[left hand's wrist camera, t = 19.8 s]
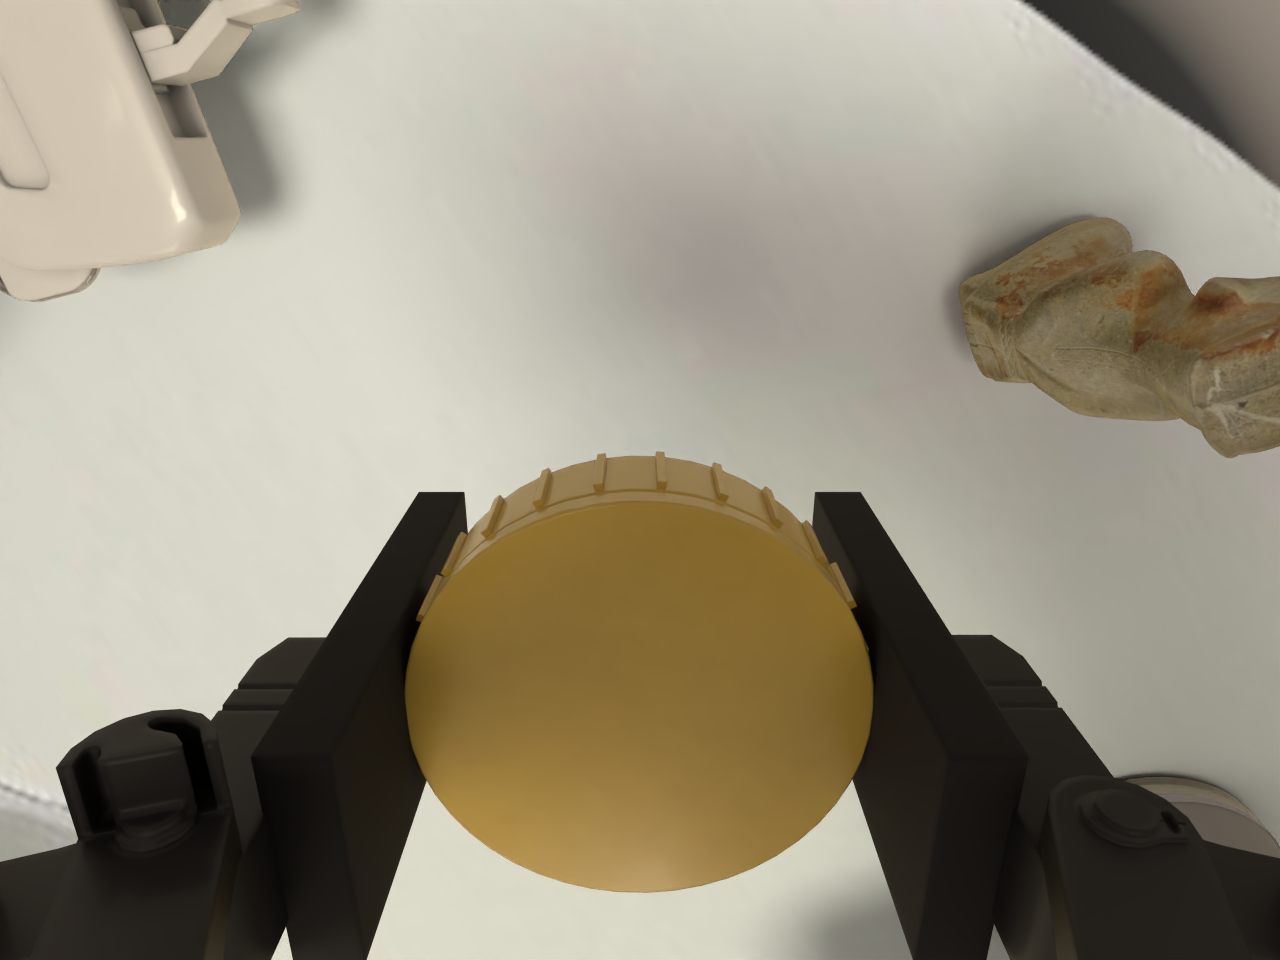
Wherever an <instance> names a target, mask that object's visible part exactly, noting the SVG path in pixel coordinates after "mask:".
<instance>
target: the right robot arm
mask: <svg viewBox="0 0 1280 960" xmlns="http://www.w3.org/2000/svg"><path fill="white" fill-rule="evenodd" d="M299 9H300V8H299V6H298V3H297V0H212V1H211V2H210V4H209V5H208V6H207V7H206V9H205V10H204V11H203V12H202V13H201V15H200V16H199V17H198V18H197V20H196V21H195V22H194V23H193V25H192V26H191V27H190V28H189V29H185V28H181V27H176V26H172V25H167V24H166V21H165V19H164V16H163V14H162V11H161V9H160V6H159V4H158V1H157V0H0V290H1V291H2V292H4V293H6V294H8V295H10V296H12V297H14V298H16V299H18V300H24V301H31V302H41V301H46V300H50V299H54V298H58V297H62V296H66V295H70V294H74V293H78V292H80V291H82V290H84V289H86V288H87V287H88V286H90V285H91V284H92V283H93V282H94V280H95V279H96V277H97V276H98V274H99V272H100V269H101V268H104V267H112V266H121V265H129V264H135V263H141V262H147V261H152V260H158V259H163V258H169V257H173V256H177V255H182V254H186V253H191V252H195V251H199V250H203V249H207V248H211V247H214V246H217V245H220V244H223V243H224V242H226V241H227V240H228V238H229V236H230V234H231V233H232V231H233V229H234V228H235V226H236V224H237V222H238V220H239V218H240V214H241V212H240V208H239V204H238V201H237V199H236V196H235V194H234V191H233V189H232V186H231V184H230V181H229V179H228V176H227V174H226V171H225V169H224V166H223V164H222V161H221V159H220V156H219V154H218V151H217V149H216V146H215V144H214V141H213V139H212V136H211V134H210V131H209V129H208V126H207V124H206V121H205V119H204V116H203V114H202V111H201V109H200V106H199V104H198V101H197V99H196V96H195V94H194V91H193V89H192V86H191V83H195V82H198V81H202V80H205V79H209V78H213V77H216V76H219V75H220V73H221V72H222V71H223V69H224V68H225V67H226V65H227V64H228V63H229V61H230V60H231V59H232V57H233V56H234V55H235V53H236V52H237V51H238V49H239V48H240V46H241V45H242V44H243V42H244V41H245V40H246V38H247V37H248V36H249V34H250V33H251V32H252V30H253V29H252V26H251V25H255V24H259V23H262V22H266V21H269V20H273V19H276V18H280V17H284V16H287V15H291V14H293V13H295V12H297V11H299Z"/></svg>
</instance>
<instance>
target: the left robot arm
mask: <svg viewBox="0 0 1280 960" xmlns="http://www.w3.org/2000/svg"><path fill="white" fill-rule="evenodd" d="M812 528H813V530H814V532H815V535H816V537H817V539H818V541H819V543H820V546H821V548H822V550H823V552H824V553H825V555H826V557H827V559H828V561H829V563H830V564H832V563H834V562H836V563H837V565H838V567H839V569H840V571H841V573H842V575H843V578H844V580H845V582H846V584H847V586H848V588H849V590H850V592H851V594H852V597H853V599H854V601H855V603H856V605H857V606H856V607H854V608H852V609H851V610H852V612H853V615H854V617H855V619H856V621H857V623H858V625H859V628H860V630H861V632H862V635H863V637H864V639H865V642H866V644H867V646H868V648H869V657H870V662H871V668H872V675H873V681H874V703H873V713H872V721H871V728H870V735H869V739H868V742H867V745H866V748H865V751H864V754H863V757H862V760H861V762H860V764H859V766H858V768H857V770H856V772H855V774H854V776H853V778H852V779H853V782H854V785H855V788H856V791H857V794H858V797H859V800H860V803H861V806H862V809H863V812H864V815H865V818H866V821H867V824H868V827H869V830H870V833H871V836H872V839H873V842H874V845H875V848H876V851H877V854H878V857H879V860H880V863H881V866H882V869H883V872H884V875H885V878H886V881H887V884H888V887H889V890H890V893H891V896H892V899H893V902H894V905H895V908H896V911H897V914H898V917H899V920H900V923H901V926H902V929H903V932H904V935H905V938H906V941H907V944H908V947H909V950H910V953H911V955H912V958H913V960H986V959H987V954H988V950H989V945H990V940H991V935H992V930H993V926H994V924H995V927H996V929H997V931H998V933H999V935H1000V938H1001V940H1002V942H1003V944H1004V946H1005V949H1006V951H1007V953H1008V955H1009V957H1010V960H1280V846H1279V845H1278V843H1277V841H1276V840H1275V839H1274V838H1273V836H1272V835H1271V834H1270V833H1269V832H1268V830H1267V829H1266V828H1265V827H1264V826H1263V825H1262V824H1261V823H1260V822H1259V821H1258V819H1257V818H1256V817H1255V816H1254V815H1253V814H1252V813H1251V812H1250V811H1249V810H1248V808H1246V807H1245V806H1244V805H1243V804H1242V803H1241V802H1240V801H1239V800H1237V799H1236V798H1235V797H1233V796H1232V795H1230V794H1228V793H1227V792H1225V791H1223V790H1221V789H1219V788H1216V787H1214V786H1212V785H1209V784H1206V783H1202V782H1199V781H1194V780H1190V779H1184V778H1175V777H1144V778H1135V779H1128V780H1119V779H1116V778H1114V777H1113V776H1112V774H1111V773H1110V772H1109V770H1108V769H1107V768H1106V766H1105V765H1104V764H1103V762H1102V761H1101V760H1100V758H1099V757H1098V756H1097V754H1096V753H1095V752H1094V750H1093V749H1092V748H1091V746H1090V745H1089V744H1088V742H1087V741H1086V740H1085V738H1084V737H1083V736H1082V734H1081V733H1080V732H1079V730H1078V729H1077V728H1076V726H1075V725H1074V724H1073V722H1072V721H1071V720H1070V718H1069V717H1068V716H1067V714H1066V713H1065V712H1064V710H1063V709H1062V708H1058V706H1057V701H1056V700H1055V698H1054V697H1053V696H1052V694H1051V693H1050V692H1049V690H1048V689H1047V688H1046V686H1042V681H1041V680H1040V678H1039V677H1038V676H1037V674H1036V673H1035V672H1034V670H1033V669H1032V668H1031V666H1030V665H1029V664H1028V662H1027V661H1026V660H1025V658H1024V657H1023V656H1022V655H1020V654H1019V653H1017V652H1016V651H1014V650H1013V649H1011V648H1010V647H1008V646H1007V645H1006V644H1004V643H1003V642H1001V641H1000V640H998V639H997V638H995V637H994V636H992V635H951V634H950V632H949V630H948V629H947V627H946V626H945V624H944V623H943V621H942V619H941V618H940V616H939V615H938V613H937V612H936V610H935V608H934V607H933V605H932V604H931V602H930V601H929V599H928V597H927V596H926V594H925V593H924V591H923V590H922V588H921V586H920V585H919V583H918V582H917V580H916V579H915V577H914V575H913V574H912V572H911V571H910V569H909V568H908V566H907V564H906V563H905V561H904V560H903V558H902V557H901V555H900V553H899V552H898V550H897V549H896V547H895V546H894V544H893V542H892V541H891V539H890V538H889V536H888V535H887V533H886V531H885V530H884V528H883V527H882V525H881V524H880V522H879V520H878V519H877V517H876V516H875V514H874V513H873V511H872V509H871V508H870V506H869V505H868V503H867V501H866V500H865V498H864V497H863V495H862V494H861V492H815V499H814V512H813V524H812ZM461 532H463V533H465V534H466V535H467V534H468V530H467V518H466V506H465V494H464V492H419V493H418V494H417V496H416V497H415V499H414V501H413V502H412V504H411V505H410V507H409V508H408V510H407V512H406V513H405V515H404V516H403V518H402V519H401V521H400V523H399V524H398V526H397V527H396V529H395V530H394V532H393V534H392V535H391V537H390V538H389V540H388V541H387V543H386V545H385V546H384V548H383V549H382V551H381V552H380V554H379V556H378V557H377V559H376V560H375V562H374V563H373V565H372V567H371V568H370V570H369V571H368V573H367V574H366V576H365V578H364V579H363V581H362V582H361V584H360V585H359V587H358V589H357V590H356V592H355V593H354V595H353V596H352V598H351V600H350V601H349V603H348V604H347V606H346V607H345V609H344V611H343V612H342V614H341V615H340V617H339V618H338V620H337V622H336V623H335V625H334V626H333V628H332V629H331V631H330V633H329V634H328V636H327V637H326V638H287V639H286V640H284V641H283V642H281V643H280V644H278V645H277V646H275V647H274V648H272V649H271V650H270V651H268V652H267V653H265V654H264V655H262V656H261V657H259V658H258V659H257V660H256V661H255V662H254V664H253V665H252V667H251V668H250V669H249V671H248V672H247V673H246V675H245V676H244V677H243V679H242V680H241V681H240V683H239V684H238V689H234V691H233V692H232V693H231V695H230V696H229V697H228V699H227V700H226V701H225V703H224V704H223V709H222V711H218V712H217V713H216V715H215V716H214V718H213V719H212V720H211V721H210V720H209V719H208V718H207V717H205V716H204V715H203V714H201V713H196V712H192V711H187V710H183V709H174V710H158V711H151V712H147V713H143V714H139V715H135V716H132V717H128V718H124V719H122V720H119V721H117V722H115V723H113V724H111V725H108V726H106V727H104V728H102V729H100V730H97V731H95V732H94V733H92V734H91V735H89V736H88V737H87V738H85V739H84V740H83V741H81V742H80V743H78V744H77V745H76V746H74V747H73V748H71V749H70V751H69V752H68V753H67V754H66V756H65V757H64V758H63V759H62V761H61V762H60V763H59V764H58V766H57V767H56V770H57V773H58V776H59V779H60V783H61V786H62V789H63V792H64V795H65V798H66V802H67V805H68V808H69V811H70V814H71V817H72V820H73V824H74V827H75V830H76V833H77V836H78V841H77V843H76V844H72V845H69V846H66V847H62V848H59V849H55V850H50V851H46V852H42V853H37V854H33V855H29V856H24V857H20V858H15V859H11V860H7V861H2V862H0V960H271V958H272V956H273V954H274V952H275V950H276V947H277V945H278V943H279V941H280V938H281V936H282V934H283V932H284V930H285V927H286V928H287V933H288V938H289V943H290V947H291V952H292V957H293V960H367V957H368V954H369V951H370V948H371V945H372V942H373V939H374V936H375V933H376V930H377V927H378V924H379V921H380V918H381V915H382V912H383V909H384V906H385V903H386V900H387V897H388V894H389V891H390V888H391V885H392V882H393V879H394V876H395V873H396V870H397V867H398V864H399V861H400V858H401V855H402V852H403V849H404V846H405V843H406V841H407V838H408V835H409V832H410V829H411V826H412V823H413V820H414V817H415V814H416V811H417V808H418V805H419V802H420V799H421V796H422V793H423V790H424V787H425V784H426V781H427V780H426V778H425V776H424V775H423V773H422V771H421V769H420V766H419V764H418V761H417V759H416V756H415V754H414V752H413V749H412V745H411V741H410V735H409V728H408V720H407V711H406V703H405V673H406V668H407V663H408V659H409V655H410V651H411V646H412V644H413V641H414V639H415V636H416V634H417V631H418V629H419V626H420V624H421V622H419V621H416V617H417V615H418V613H419V610H420V608H421V606H422V604H423V602H424V600H425V598H426V596H427V593H428V591H429V589H430V587H431V585H432V583H433V581H434V579H435V577H436V575H439V576H443V575H442V574H441V572H442V569H443V567H444V565H445V563H446V561H447V559H448V557H449V554H450V552H451V550H452V548H453V546H454V544H455V541H456V539H457V537H458V536H459V534H460V533H461Z"/></svg>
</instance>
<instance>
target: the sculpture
mask: <svg viewBox="0 0 1280 960" xmlns="http://www.w3.org/2000/svg"><path fill="white" fill-rule="evenodd" d="M959 296H960V303H961V306H962V316H963V321H964V325H965V329H966V333H967V337H968V340H969V344H970V347H971V350H972V353H973V356H974V358H975V361H976V363H977V365H978V367H979V369H980V371H981V372H982V374H983V375H984V376H986V377H988V378H993V379H994V380H996V381H1002V382H1012V383H1033V384H1034V385H1036V386H1037V387H1038V388H1039V389H1041V390H1042V391H1043V392H1045V393H1046V394H1048V395H1049V396H1051V397H1052V398H1053V399H1055V400H1056V401H1058V402H1059V403H1061V404H1062V405H1064V406H1065V407H1067V408H1068V409H1070V410H1071V411H1074V412H1076V413H1078V414H1081V415H1086V416H1091V417H1102V418H1114V419H1128V420H1151V421H1164V420H1174V419H1178V418H1181V419H1183V420H1184V421H1185V422H1187V423H1188V424H1190V425H1192V426H1194V427H1196V428H1198V429H1200V430H1201V431H1202V433H1203V435H1204V437H1205V439H1206V440H1207V442H1208V443H1209V444H1210V445H1211V447H1212V448H1213V449H1215V450H1216V451H1217V452H1218V453H1219V454H1221V455H1222V456H1224V457H1227V458H1234V457H1236V456H1238V455H1242V454H1247V453H1256V452H1261V451H1265V450H1269V449H1272V448H1275V447H1278V446H1280V276H1279V277H1268V278H1260V279H1244V278H1222V277H1215V278H1212V279H1209V280H1208V281H1207V282H1206V283H1205V284H1204V285H1203V286H1202V287H1201V288H1200V290H1199V291H1198V293H1197V294H1196V295H1195V296H1194V295H1193V294H1192V293H1191V291H1190V289H1189V288H1188V286H1187V284H1186V281H1185V279H1184V277H1183V275H1182V272H1181V271H1180V269H1179V268H1178V267H1177V265H1176V264H1175V263H1174V261H1172V260H1171V259H1170V258H1169V257H1167V256H1166V255H1164V254H1162V253H1159V252H1155V251H1148V250H1145V251H1139V252H1133V253H1132V241H1131V236H1130V234H1129V232H1128V230H1127V229H1126V228H1125V227H1124V226H1123V225H1121V224H1120V223H1118V222H1117V221H1115V220H1113V219H1110V218H1092V219H1086V220H1082V221H1079V222H1075V223H1072V224H1070V225H1068V226H1065V227H1063V228H1061V229H1059V230H1057V231H1055V232H1053V233H1051V234H1050V235H1048V236H1046V237H1044V238H1042V239H1041V240H1039V241H1037V242H1036V243H1034V244H1032V245H1031V246H1029V247H1027V248H1025V249H1024V250H1022V251H1021V252H1019V253H1018V254H1016V255H1015V256H1013V257H1012V258H1010V259H1008V260H1007V261H1005V262H1003V263H1002V264H1000V265H998V266H996V267H994V268H992V269H990V270H988V271H986V272H984V273H982V274H979V273H978V274H975V275H973V276H971V277H969V278H968V279H966V280H965V281H964V282H963V283H962V284H961V285H960V287H959Z"/></svg>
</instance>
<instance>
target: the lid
mask: <svg viewBox="0 0 1280 960" xmlns="http://www.w3.org/2000/svg"><path fill="white" fill-rule="evenodd" d="M441 574H442V575H443V576H439V575H436V577H435V579H434V581H433V583H432V585H431V587H430V589H429V591H428V593H427V596H426V598H425V600H424V602H423V604H422V606H421V608H420V610H419V613H418V615H417V617H416V621H419V622H421V624H420V626H419V629H418V631H417V634H416V636H415V639H414V641H413V644H412V646H411V651H410V655H409V659H408V663H407V668H406V673H405V703H406V711H407V720H408V728H409V735H410V741H411V745H412V749H413V752H414V754H415V756H416V759H417V761H418V764H419V766H420V769H421V771H422V773H423V775H424V776H425V778H426V780H427V782H428V783H429V785H430V787H431V788H432V790H433V792H434V793H435V795H436V796H437V797H438V799H439V800H440V801H441V803H442V804H443V805H444V806H445V808H446V809H447V810H448V811H449V813H450V814H451V815H452V816H453V817H454V818H455V819H456V820H457V821H458V822H459V823H460V824H461V825H462V826H463V827H464V828H465V829H466V830H467V831H468V832H469V833H471V834H472V835H473V836H474V837H476V838H477V839H478V840H480V841H481V842H482V843H484V844H485V845H486V846H488V847H489V848H490V849H492V850H493V851H495V852H497V853H498V854H500V855H502V856H503V857H505V858H507V859H508V860H510V861H512V862H514V863H516V864H518V865H520V866H522V867H524V868H527V869H529V870H531V871H533V872H535V873H538V874H540V875H543V876H546V877H549V878H552V879H555V880H558V881H561V882H564V883H568V884H573V885H577V886H582V887H586V888H591V889H598V890H607V891H615V892H642V893H648V892H661V891H674V890H680V889H686V888H691V887H697V886H702V885H706V884H709V883H713V882H716V881H720V880H723V879H727V878H730V877H732V876H735V875H737V874H740V873H742V872H745V871H747V870H750V869H752V868H754V867H756V866H758V865H760V864H762V863H764V862H766V861H768V860H769V859H771V858H773V857H775V856H777V855H778V854H780V853H781V852H783V851H784V850H786V849H787V848H789V847H790V846H792V845H793V844H795V843H796V842H797V841H799V840H800V839H801V838H802V837H804V836H805V835H806V834H807V833H808V832H809V831H810V830H812V829H813V828H814V827H815V826H816V825H817V824H818V823H819V822H820V821H821V820H822V819H823V818H824V817H825V816H826V815H827V813H828V812H829V811H830V810H831V809H832V808H833V807H834V806H835V804H836V803H837V802H838V800H839V799H840V797H841V796H842V794H843V793H844V791H845V790H846V788H847V787H848V785H849V784H850V783H851V781H852V778H853V776H854V774H855V772H856V770H857V768H858V766H859V764H860V762H861V760H862V757H863V754H864V751H865V748H866V745H867V742H868V739H869V735H870V728H871V721H872V713H873V703H874V681H873V675H872V668H871V662H870V657H869V648H868V646H867V644H866V642H865V639H864V637H863V635H862V632H861V630H860V628H859V625H858V623H857V621H856V619H855V617H854V615H853V612H852V610H851V609H852V608H854V607H856V606H857V605H856V603H855V601H854V599H853V597H852V594H851V592H850V590H849V588H848V586H847V584H846V582H845V580H844V578H843V575H842V573H841V571H840V569H839V567H838V565H837V563H836V562H834V563H832V564H830V563H829V561H828V559H827V557H826V555H825V553H824V552H823V550H822V548H821V546H820V543H819V541H818V539H817V537H816V535H815V532H814V530H813V528H812V526H811V524H810V523H809V522H808V521H807V520H806V521H805V522H804V523H801V522H800V521H799V520H798V519H797V518H796V517H795V516H794V515H793V514H792V513H791V512H790V511H789V510H788V509H786V508H785V507H784V506H783V505H781V504H780V503H779V502H777V501H776V500H775V498H774V496H773V493H772V491H771V490H770V489H769V488H767V487H766V486H765V487H764V488H763V489H762V490H760V489H758V488H757V487H755V486H753V485H752V484H750V483H748V482H747V481H745V480H743V479H740V478H738V477H736V476H733V475H731V474H729V473H726V472H724V471H722V467H721V465H720V464H717V463H713V465H712V467H709V466H705V465H702V464H698V463H695V462H691V461H686V460H679V459H673V458H666V457H665V455H664V452H656V456H624V457H614V458H606V454H605V453H604V454H598V455H597V460H593V461H589V462H584V463H580V464H575V465H571V466H569V467H566V468H563V469H560V470H558V471H555V472H552V473H551V471H550V469H549V468H548V469H545V470H543V471H542V473H541V476H540V478H538V479H536V480H534V481H532V482H530V483H529V484H527V485H525V486H523V487H521V488H519V489H518V490H516V491H515V492H513V493H512V494H510V495H509V496H508V497H506V498H505V499H503V498H502V496H501V495H499V496H498V497H497V498H495V499H494V501H493V504H492V506H491V509H490V511H489V512H488V513H487V514H485V515H484V516H483V517H482V518H481V519H480V520H479V521H478V522H477V523H476V524H475V525H474V527H473V528H472V529H471V530H470V532H469V533H468V534H467V535H466V534H465V533H463V532H461V533H460V534H459V536H458V537H457V539H456V541H455V544H454V546H453V548H452V550H451V552H450V554H449V557H448V559H447V561H446V563H445V565H444V567H443V569H442V572H441Z"/></svg>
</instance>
